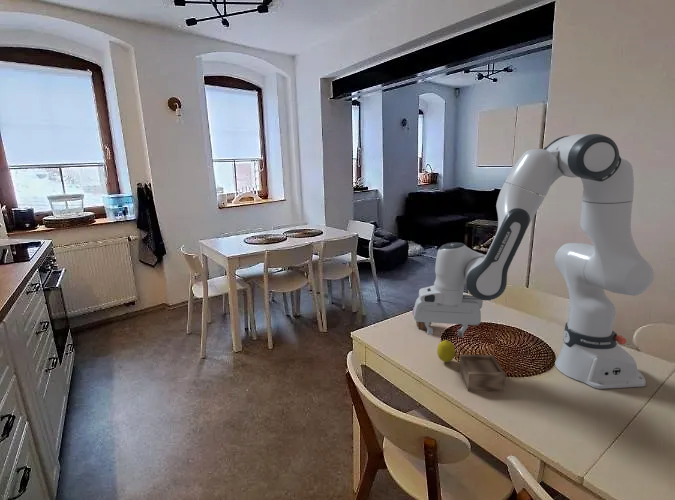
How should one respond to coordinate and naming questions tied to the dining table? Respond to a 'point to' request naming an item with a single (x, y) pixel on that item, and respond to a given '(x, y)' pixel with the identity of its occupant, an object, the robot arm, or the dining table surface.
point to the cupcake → (421, 323)
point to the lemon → (446, 351)
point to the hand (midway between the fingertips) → (444, 334)
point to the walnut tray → (481, 373)
